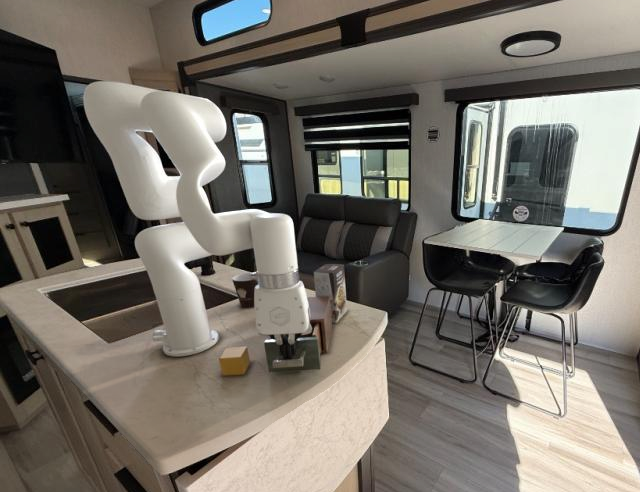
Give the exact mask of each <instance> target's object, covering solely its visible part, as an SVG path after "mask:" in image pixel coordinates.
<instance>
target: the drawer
mask: <svg viewBox="0 0 640 492" xmlns="http://www.w3.org/2000/svg"><path fill="white" fill-rule="evenodd" d="M310 324H311V326H312V331H311V333H309V334H305V335H301V336H300V337H299V338H298V339H297V340H296V341H295V343H296V355H294V356H293V358H292V360H283V355H282V356H281V354H280V347H279V345H278V344H277V343H276V341H275V340H273V339H272V338H271V337H269V338H270V339H265V340H264V341H263V345H264V351H265V357H266V364H267V368H268V369H267V370H268V372H269V373H284V372H297V371H299V372H300V371H313V370H314V371H315V370H321V368H322V363H321V354H322V353H321V349H322V344H323V338H322V327H321V322H311V323H310ZM285 337H286V338H288V337H289V334H285Z"/></svg>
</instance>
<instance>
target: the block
mask: <svg viewBox="0 0 640 492" xmlns="http://www.w3.org/2000/svg"><path fill="white" fill-rule="evenodd" d="M218 362H219V365H220V370H221V374H222V376H238V375H244V374H245V373H246V371H247V369H248V368H249V366H250V364H251V360H250V354H249V347H248V346H231V347H230V346H229V347H226V348H225V349H224V351H223V352H222V354H221V355H220V356H219V358H218Z"/></svg>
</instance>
